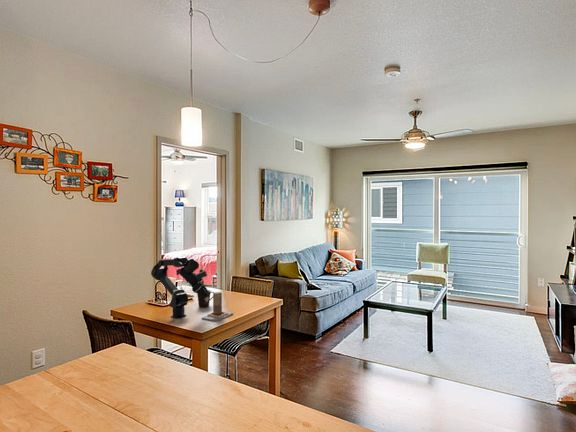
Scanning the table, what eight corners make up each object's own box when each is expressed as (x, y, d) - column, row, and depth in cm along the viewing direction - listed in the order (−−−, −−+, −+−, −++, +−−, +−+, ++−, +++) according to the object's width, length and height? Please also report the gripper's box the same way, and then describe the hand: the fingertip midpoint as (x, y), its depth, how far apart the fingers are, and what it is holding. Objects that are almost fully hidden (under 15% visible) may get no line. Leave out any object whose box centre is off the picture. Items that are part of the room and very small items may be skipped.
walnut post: (218, 316, 201) (218, 294, 201) (211, 315, 204) (211, 293, 203) (223, 314, 206) (223, 292, 206) (216, 313, 208) (216, 291, 208)
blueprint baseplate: (216, 321, 195) (216, 318, 195) (201, 319, 200) (201, 315, 200) (233, 314, 210) (233, 311, 209) (218, 312, 214) (218, 308, 214)
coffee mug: (198, 309, 221) (198, 293, 221) (196, 305, 229) (196, 290, 229) (216, 307, 226) (216, 291, 226) (214, 304, 234) (214, 289, 234)
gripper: (198, 268, 194) (218, 287, 196) (199, 263, 212) (217, 281, 214) (183, 282, 192) (204, 301, 194) (185, 276, 210) (204, 294, 212)
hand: (208, 294), depth 204 cm, fingers open, 9 cm apart
